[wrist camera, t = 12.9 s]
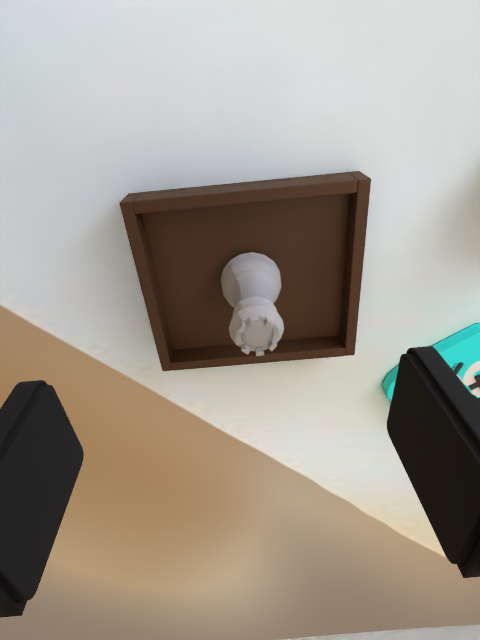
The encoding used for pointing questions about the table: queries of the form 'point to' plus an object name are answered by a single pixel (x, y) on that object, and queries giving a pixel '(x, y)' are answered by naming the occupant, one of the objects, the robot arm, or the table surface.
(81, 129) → the table surface
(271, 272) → the rook chess piece
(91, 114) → the table surface
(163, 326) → the tray
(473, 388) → the handheld game console
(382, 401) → the table surface
